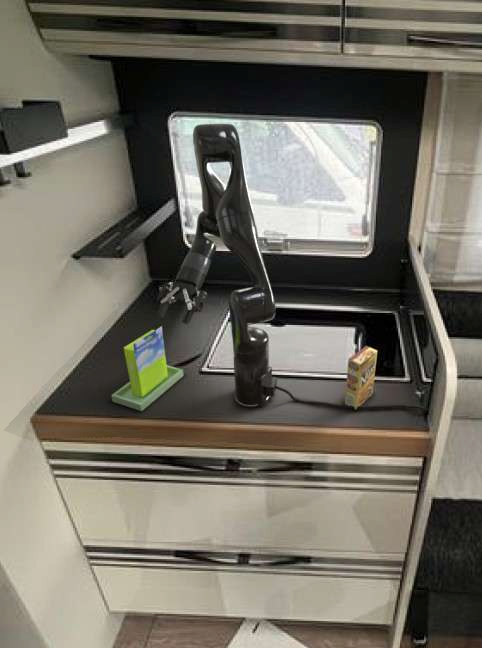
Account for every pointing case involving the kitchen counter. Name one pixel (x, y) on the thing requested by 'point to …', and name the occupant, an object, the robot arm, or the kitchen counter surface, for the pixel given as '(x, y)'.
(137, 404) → the green shallow tray
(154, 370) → the box
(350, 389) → the candy box
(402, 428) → the kitchen counter surface
